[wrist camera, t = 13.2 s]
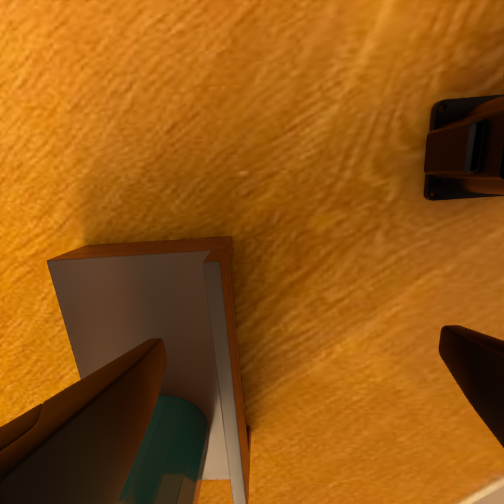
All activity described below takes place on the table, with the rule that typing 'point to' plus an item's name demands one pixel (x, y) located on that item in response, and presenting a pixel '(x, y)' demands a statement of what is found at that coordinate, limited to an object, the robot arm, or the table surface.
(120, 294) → the desk shelf
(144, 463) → the glazed pot
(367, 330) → the table surface
